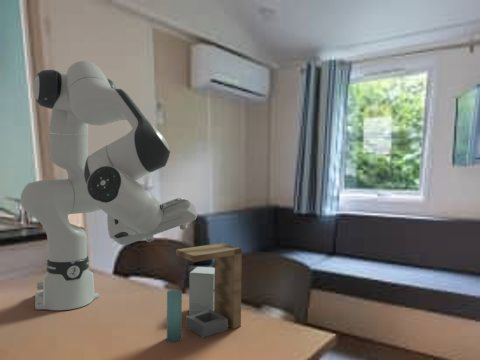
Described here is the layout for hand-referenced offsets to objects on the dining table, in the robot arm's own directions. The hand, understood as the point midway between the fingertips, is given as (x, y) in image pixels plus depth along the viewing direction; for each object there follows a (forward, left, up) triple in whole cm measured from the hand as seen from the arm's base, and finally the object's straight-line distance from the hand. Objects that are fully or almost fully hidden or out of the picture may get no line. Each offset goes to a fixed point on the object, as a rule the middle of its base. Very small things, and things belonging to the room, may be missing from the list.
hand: (167, 232), depth 98 cm
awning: (+3, +10, -26) cm, 28 cm away
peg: (+3, 0, -26) cm, 27 cm away
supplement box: (-7, +16, -27) cm, 32 cm away
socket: (+3, +10, -26) cm, 28 cm away
